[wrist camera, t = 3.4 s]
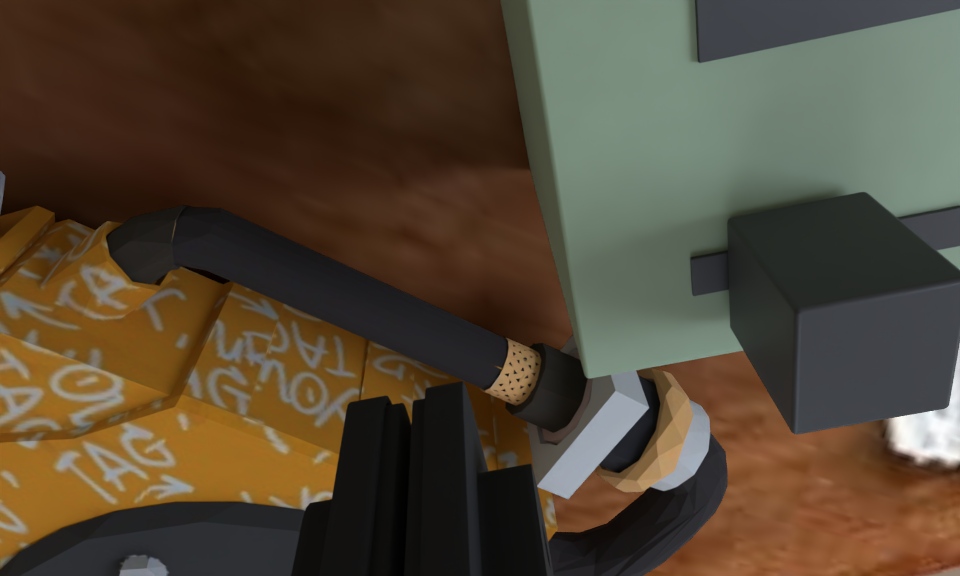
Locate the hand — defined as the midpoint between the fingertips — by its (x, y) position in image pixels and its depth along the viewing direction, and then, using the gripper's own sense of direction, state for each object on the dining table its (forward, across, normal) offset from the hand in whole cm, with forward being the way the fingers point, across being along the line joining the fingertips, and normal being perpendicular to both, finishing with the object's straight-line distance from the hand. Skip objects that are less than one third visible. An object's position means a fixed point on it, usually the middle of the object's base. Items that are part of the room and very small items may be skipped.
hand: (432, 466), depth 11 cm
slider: (+3, -7, 0) cm, 7 cm away
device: (+15, +9, +10) cm, 20 cm away
